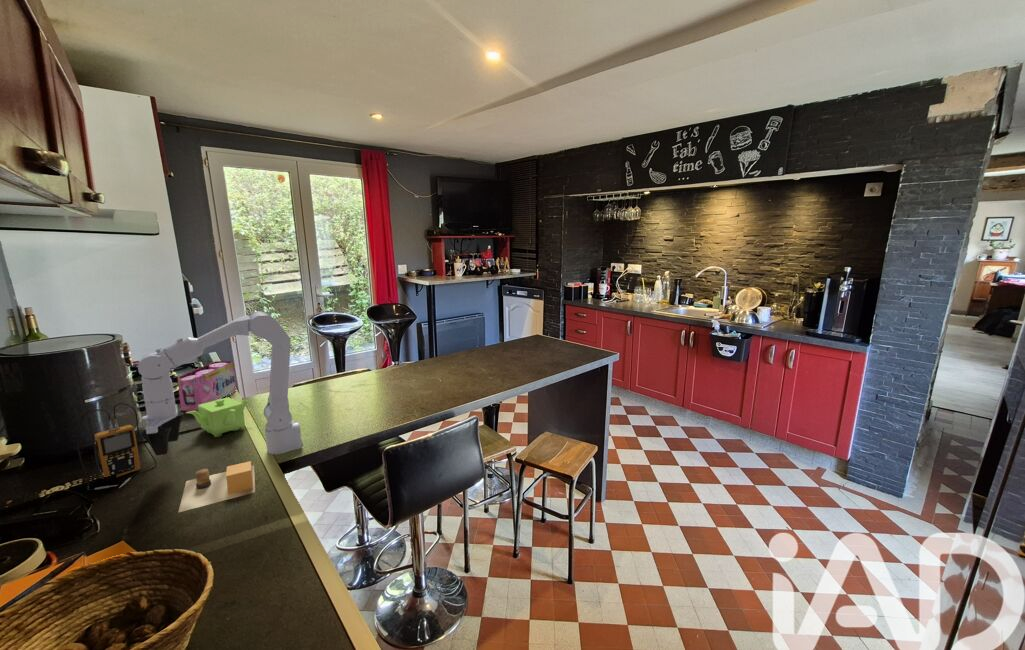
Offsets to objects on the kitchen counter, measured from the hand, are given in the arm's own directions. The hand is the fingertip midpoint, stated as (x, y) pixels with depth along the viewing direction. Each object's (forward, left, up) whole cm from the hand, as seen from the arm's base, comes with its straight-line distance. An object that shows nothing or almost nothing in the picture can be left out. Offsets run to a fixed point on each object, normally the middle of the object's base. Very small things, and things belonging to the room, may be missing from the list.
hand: (167, 447), depth 104 cm
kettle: (-9, -29, -10) cm, 32 cm away
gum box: (-4, -66, -10) cm, 67 cm away
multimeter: (+11, -8, -10) cm, 17 cm away
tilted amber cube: (-15, +15, -8) cm, 23 cm away
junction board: (-11, +12, -10) cm, 19 cm away
